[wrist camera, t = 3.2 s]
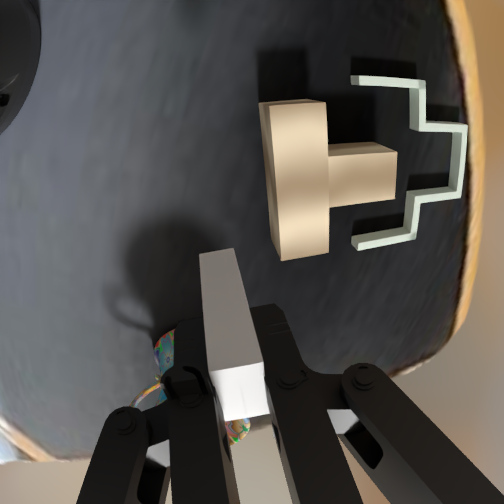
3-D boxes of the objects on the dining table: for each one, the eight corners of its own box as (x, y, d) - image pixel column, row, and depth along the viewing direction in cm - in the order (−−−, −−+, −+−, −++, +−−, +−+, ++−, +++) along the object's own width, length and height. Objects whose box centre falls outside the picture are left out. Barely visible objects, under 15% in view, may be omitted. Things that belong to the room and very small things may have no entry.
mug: (223, 308, 32) (238, 394, 23) (241, 365, 37) (258, 442, 28) (115, 332, 31) (100, 415, 22) (147, 384, 36) (145, 459, 27)
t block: (258, 102, 23) (269, 106, 20) (372, 98, 24) (397, 102, 21) (271, 238, 29) (281, 260, 26) (370, 222, 30) (390, 241, 27)
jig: (350, 75, 23) (358, 75, 22) (458, 85, 24) (468, 87, 23) (351, 243, 31) (357, 250, 30) (447, 225, 32) (454, 230, 31)
